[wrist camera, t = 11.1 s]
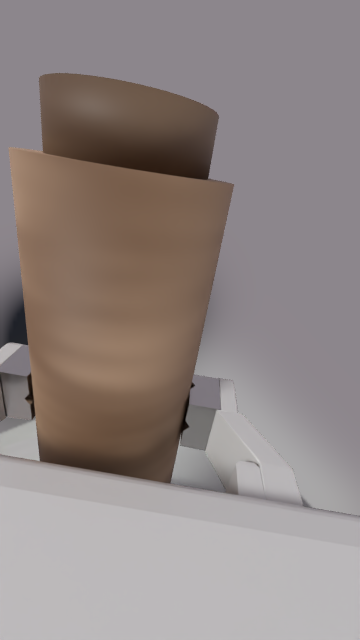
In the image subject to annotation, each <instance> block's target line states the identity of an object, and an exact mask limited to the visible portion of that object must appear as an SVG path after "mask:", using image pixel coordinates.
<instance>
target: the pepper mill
mask: <svg viewBox="0 0 360 640" xmlns="http://www.w3.org/2000/svg"><path fill="white" fill-rule="evenodd" d="M39 86H40V103H41V124H42V140H43V141H42V142H43V151H36V150H29V149H22V148H12V147H9V155H10V165H11V176H12V186H13V196H14V206H15V216H16V226H17V236H18V245H19V256H20V266H21V275H22V286H23V296H24V306H25V315H26V326H27V336H28V346H29V356H30V366H31V376H32V386H33V396H34V406H35V416H36V426H37V436H38V446H39V456H40V461H41V462H47V463H53V464H59V465H64V466H70V467H76V468H82V469H88V470H94V471H100V472H105V473H111V474H117V475H123V476H129V477H134V478H140V479H146V480H152V481H158V482H163V483H169V484H170V482H171V477H172V473H173V468H174V463H175V459H176V454H177V449H178V445H179V440H180V435H181V430H182V426H183V421H184V416H185V412H186V407H187V402H188V398H189V393H190V388H191V384H192V379H193V374H194V370H195V365H196V360H197V356H198V351H199V346H200V342H201V336H202V332H203V328H204V322H205V318H206V313H207V309H208V304H209V299H210V295H211V290H212V285H213V281H214V276H215V271H216V267H217V262H218V257H219V252H220V247H221V243H222V239H223V234H224V229H225V224H226V220H227V215H228V210H229V206H230V201H231V196H232V192H233V187H234V184H231V183H227V182H222V181H217V180H212V179H208V176H209V169H210V164H211V158H212V153H213V147H214V141H215V135H216V130H217V124H218V119H219V116H218V114H217V112H215V111H214V110H213V109H211V108H209V107H207V106H205V105H203V104H201V103H199V102H196V101H194V100H191V99H188V98H185V97H183V96H180V95H177V94H173V93H170V92H167V91H163V90H160V89H156V88H152V87H148V86H144V85H140V84H135V83H131V82H126V81H121V80H115V79H110V78H104V77H97V76H90V75H81V74H68V73H55V74H45V75H42V76H40V78H39Z"/></svg>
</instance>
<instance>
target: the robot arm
mask: <svg viewBox="0 0 360 640" xmlns="http://www.w3.org/2000/svg"><path fill="white" fill-rule="evenodd" d="M34 416H35V406H34V396H33V386H32V376H31V366H30V356H29V346H28V345H22V344H17V343H7V344H6V345H5V346H4V347H2V348H1V349H0V421H2V420H3V419H5V418H6V417H12V418H19V419H26V420H32V419H33V418H34ZM180 446H184V447H189V448H194V449H199V450H204V451H205V453H206V455H207V456H208V458H209V460H210V462H211V464H212V466H213V467H214V469H215V471H216V473H217V475H218V476H219V478H220V480H221V482H222V484H223V486H224V487H225V489H226V493H222V492H216V491H210V490H204V489H198V488H192V487H187V486H181V485H175V484H169V483H163V482H158V481H152V480H146V479H140V478H134V477H129V476H123V475H117V474H111V473H105V472H100V471H94V470H88V469H82V468H76V467H70V466H64V465H59V464H53V463H47V462H41V461H35V460H29V459H23V458H18V457H12V456H6V455H0V640H360V516H357V515H351V514H345V513H339V512H333V511H327V510H322V509H316V508H310V507H304V505H303V502H302V499H301V495H300V492H299V488H298V485H297V482H296V478H295V475H294V472H293V468H291V466H290V465H289V464H288V463H287V462H286V461H285V460H284V459H283V458H282V457H281V456H280V454H279V453H278V452H277V451H276V450H275V449H274V448H273V447H272V446H271V444H270V443H269V442H268V441H267V440H266V439H265V438H264V437H263V436H262V435H261V434H260V432H259V431H258V430H257V429H256V428H255V427H254V426H253V425H252V424H251V423H250V422H249V421H248V420H247V418H246V417H245V416H244V415H243V414H239V413H238V408H237V400H236V393H235V387H234V382H233V380H228V379H220V378H211V377H205V376H199V375H193V379H192V384H191V388H190V393H189V398H188V402H187V407H186V412H185V416H184V421H183V426H182V430H181V442H180Z"/></svg>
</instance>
